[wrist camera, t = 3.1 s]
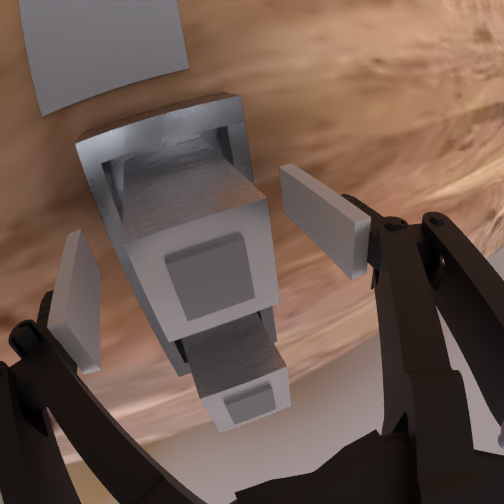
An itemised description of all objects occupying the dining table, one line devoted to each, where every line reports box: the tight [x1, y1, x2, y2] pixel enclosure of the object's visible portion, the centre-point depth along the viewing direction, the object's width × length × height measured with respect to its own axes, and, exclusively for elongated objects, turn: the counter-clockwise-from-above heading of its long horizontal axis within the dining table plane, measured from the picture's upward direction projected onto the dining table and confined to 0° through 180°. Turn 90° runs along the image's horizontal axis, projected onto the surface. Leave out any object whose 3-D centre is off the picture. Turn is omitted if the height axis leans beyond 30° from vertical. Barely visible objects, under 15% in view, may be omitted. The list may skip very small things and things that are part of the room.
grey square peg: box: [123, 138, 280, 342], centre depth 16 cm, size 5×5×10 cm
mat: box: [19, 0, 189, 117], centre depth 13 cm, size 9×9×1 cm
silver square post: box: [182, 312, 291, 433], centre depth 21 cm, size 5×5×10 cm
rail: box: [75, 92, 277, 377], centre depth 22 cm, size 20×9×3 cm, turn 9°
